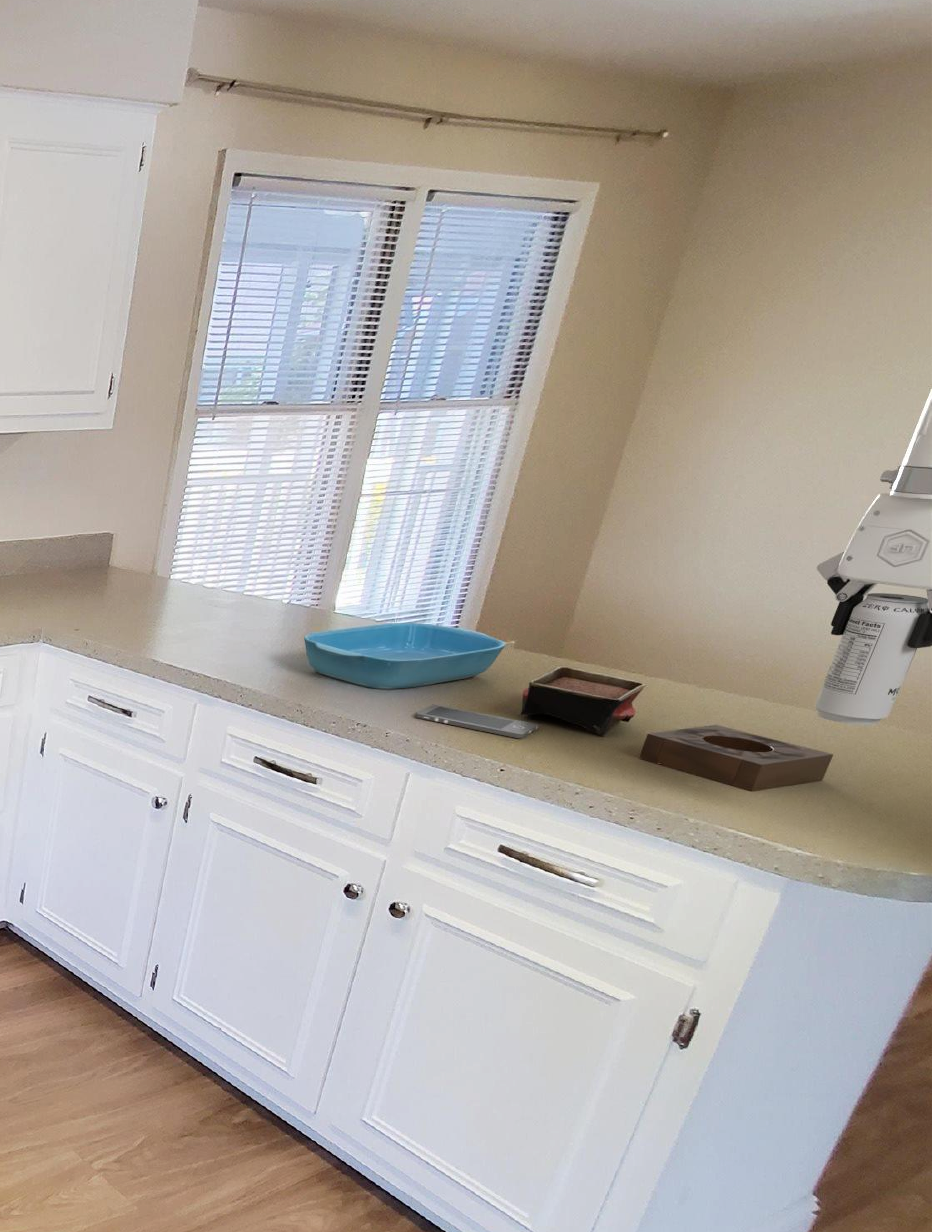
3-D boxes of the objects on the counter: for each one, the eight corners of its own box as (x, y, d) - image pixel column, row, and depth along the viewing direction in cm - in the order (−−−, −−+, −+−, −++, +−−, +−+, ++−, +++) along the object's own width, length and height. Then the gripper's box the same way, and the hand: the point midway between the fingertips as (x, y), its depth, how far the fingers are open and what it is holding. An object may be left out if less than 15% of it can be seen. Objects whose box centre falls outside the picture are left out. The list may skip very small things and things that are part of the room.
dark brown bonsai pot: (644, 736, 169) (661, 676, 167) (605, 740, 160) (623, 677, 158) (537, 720, 181) (552, 664, 179) (495, 723, 172) (510, 664, 170)
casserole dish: (377, 699, 185) (386, 660, 182) (273, 669, 205) (280, 634, 202) (522, 678, 195) (532, 641, 192) (409, 651, 215) (417, 618, 212)
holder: (822, 780, 145) (833, 754, 144) (751, 791, 142) (762, 764, 140) (706, 749, 158) (715, 724, 156) (638, 758, 155) (647, 733, 153)
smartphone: (412, 716, 175) (413, 712, 174) (431, 707, 179) (432, 703, 179) (520, 738, 163) (522, 734, 163) (537, 728, 168) (539, 724, 167)
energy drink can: (894, 729, 121) (949, 603, 115) (823, 722, 123) (873, 599, 118) (870, 715, 125) (922, 594, 120) (802, 709, 128) (849, 590, 123)
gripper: (822, 479, 121) (766, 627, 128) (1037, 492, 106) (962, 660, 112) (865, 476, 123) (808, 623, 130) (1083, 489, 108) (1006, 654, 114)
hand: (880, 639), depth 121 cm, fingers closed on energy drink can, 6 cm apart
